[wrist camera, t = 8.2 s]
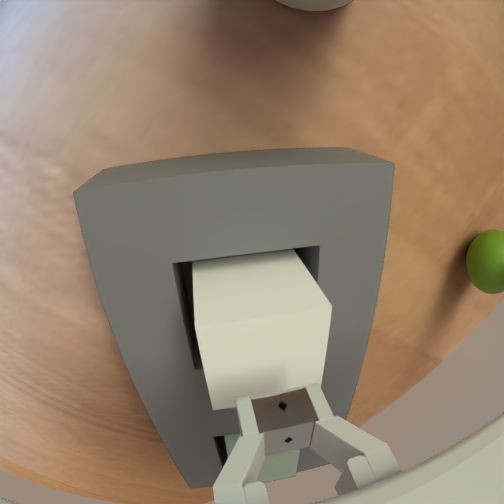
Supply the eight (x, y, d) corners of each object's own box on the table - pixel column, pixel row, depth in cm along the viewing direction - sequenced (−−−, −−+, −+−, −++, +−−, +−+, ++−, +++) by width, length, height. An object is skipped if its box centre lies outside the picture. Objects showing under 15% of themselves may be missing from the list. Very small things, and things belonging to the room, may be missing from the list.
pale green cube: (282, 400, 23) (299, 451, 19) (281, 431, 25) (295, 476, 21) (220, 411, 22) (229, 464, 18) (227, 440, 25) (235, 487, 20)
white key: (293, 249, 16) (332, 306, 11) (291, 327, 18) (319, 390, 14) (192, 261, 15) (195, 327, 11) (205, 339, 17) (213, 410, 13)
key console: (347, 147, 18) (394, 163, 13) (316, 427, 30) (330, 463, 25) (103, 169, 16) (72, 192, 11) (186, 448, 28) (190, 488, 23)
